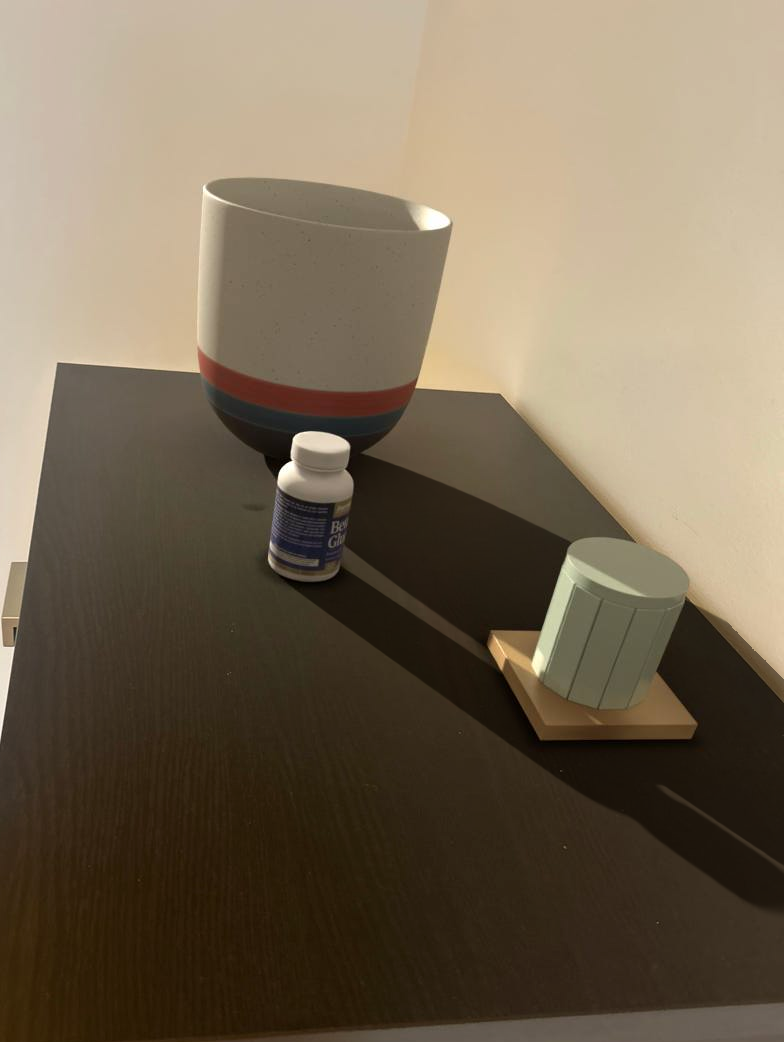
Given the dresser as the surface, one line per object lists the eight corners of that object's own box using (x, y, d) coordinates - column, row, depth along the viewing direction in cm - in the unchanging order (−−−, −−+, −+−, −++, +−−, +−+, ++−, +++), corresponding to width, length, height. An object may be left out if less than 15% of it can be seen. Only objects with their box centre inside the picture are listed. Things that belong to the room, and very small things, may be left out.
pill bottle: (334, 590, 67) (356, 463, 61) (260, 576, 67) (276, 448, 62) (343, 556, 71) (364, 434, 66) (274, 543, 72) (289, 421, 66)
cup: (615, 643, 63) (654, 538, 59) (665, 709, 58) (713, 599, 53) (516, 642, 62) (549, 534, 57) (557, 710, 56) (597, 596, 52)
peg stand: (620, 646, 65) (653, 559, 62) (691, 739, 57) (734, 645, 54) (486, 644, 63) (511, 554, 60) (540, 740, 55) (574, 643, 51)
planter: (376, 415, 98) (415, 193, 86) (430, 502, 82) (487, 242, 70) (181, 403, 94) (194, 168, 82) (196, 492, 77) (215, 213, 66)
